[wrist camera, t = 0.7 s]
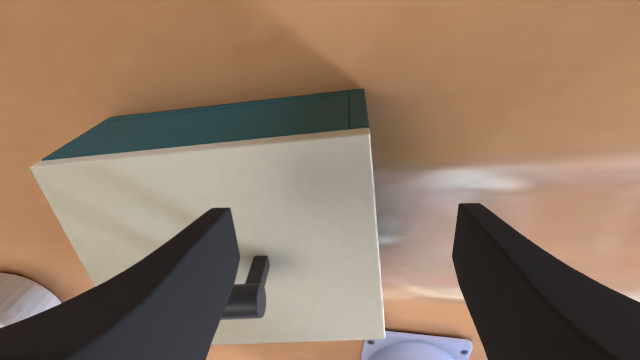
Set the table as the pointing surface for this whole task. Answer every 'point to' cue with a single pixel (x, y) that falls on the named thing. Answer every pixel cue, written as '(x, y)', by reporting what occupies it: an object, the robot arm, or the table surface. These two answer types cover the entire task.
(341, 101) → the cool box
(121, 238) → the lid
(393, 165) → the table surface
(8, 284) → the ramekin
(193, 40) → the table surface
